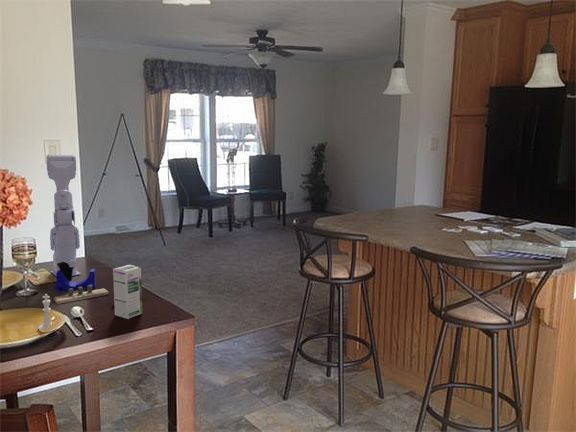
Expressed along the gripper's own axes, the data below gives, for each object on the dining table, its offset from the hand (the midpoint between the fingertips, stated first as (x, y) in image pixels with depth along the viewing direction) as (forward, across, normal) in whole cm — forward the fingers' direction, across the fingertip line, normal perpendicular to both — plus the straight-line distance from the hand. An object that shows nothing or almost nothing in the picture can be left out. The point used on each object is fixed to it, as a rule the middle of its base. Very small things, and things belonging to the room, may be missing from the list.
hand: (67, 282), depth 178 cm
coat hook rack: (+1, +15, 0) cm, 15 cm away
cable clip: (+1, +5, +2) cm, 5 cm away
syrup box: (+1, +38, +6) cm, 38 cm away
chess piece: (+1, +36, -16) cm, 39 cm away
